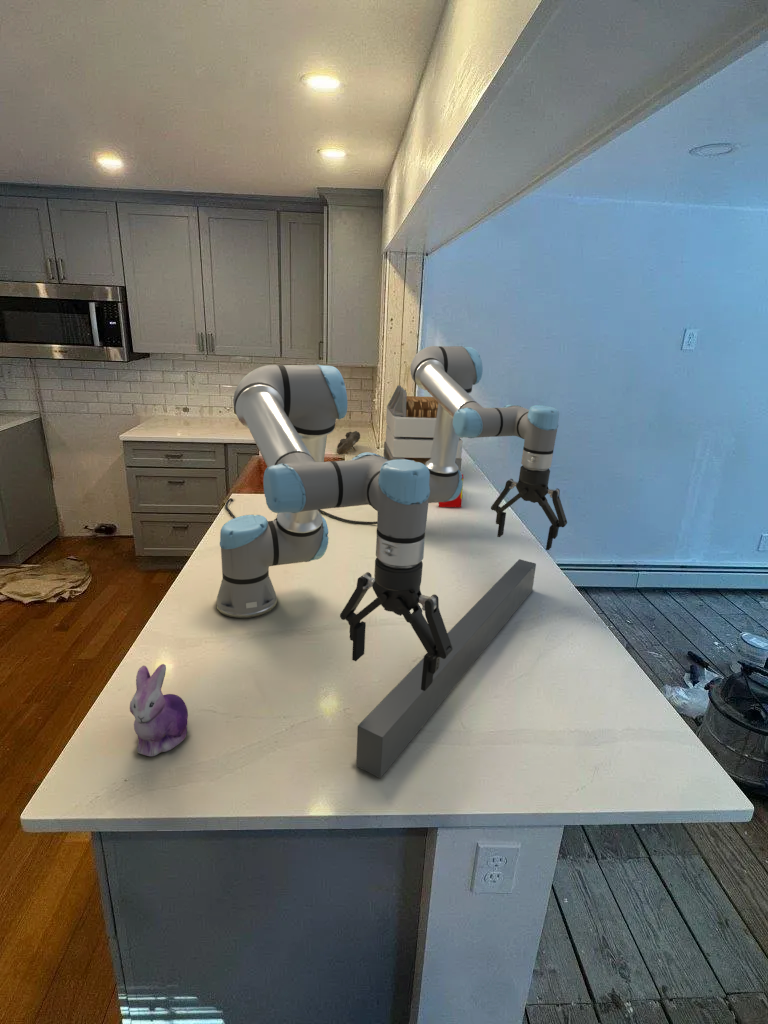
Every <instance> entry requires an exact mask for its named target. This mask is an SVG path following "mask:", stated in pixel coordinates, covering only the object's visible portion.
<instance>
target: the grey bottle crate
mask: <svg viewBox="0 0 768 1024" xmlns="http://www.w3.org/2000/svg"><path fill="white" fill-rule="evenodd" d="M407 394H408V393H407V390H406V389H404V388H403V387H402V385H399V384H398V385H397V386H396V388H395V390H394V392H393V394H392V395H391V398H390V400H389V402H388V404H387V405H386V413H385V414H386V415H385V423H386V428H385V438H384V442H383V457H384V458H385V459H387V460H389V461H390V460H395V459H406V460H413V461H415V462H420V463H422V464H424V465H425V463H426V462H427V461H428V460H430V459H431V452H432V445H433V438H434V431H435V424H436V417H437V410H438V402H437V401H436V399H435V398H434V397H433V396H415V395H414V396H413V395H412V396H411V395H407ZM462 439H463V438H462V437H459V441H458V447H457V453H456V459H455V463H456V465H457V466H458V470H459V471H460V472H461V473H462V461H463V460H462V453H463V442H464V441H463V440H462Z"/></svg>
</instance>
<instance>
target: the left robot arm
mask: <svg viewBox="0 0 768 1024" xmlns="http://www.w3.org/2000/svg"><path fill="white" fill-rule="evenodd" d="M341 373H342V372H340V370H339V369H338V368H337V367H335V366H333V365H325V364H324V365H321V364H319V363H316V364H285V365H284V364H268V365H262V366H260V367H257V368H254V369H253V370H252V371H250V372H249V373H246V375H245V376H243V378H242V379H241V380H240V381H239V382H238V384H237V386H236V388H235V390H234V393H233V400H232V401H233V402H232V403H233V410H234V413H235V415H236V417H237V419H238V421H239V423H241V424H242V425H243V426H244V427H245V428H246V429H248V430H249V432H250V434H251V436H252V438H253V440H254V442H255V444H256V446H257V447H256V448H257V449H258V451H259V453H260V455H261V457H262V459H263V461H264V463H265V466H266V468H265V470H264V472H263V481H262V482H263V494H264V498H265V504H266V505H267V508H268V509H269V511H271V512H272V513H275V514H276V518H277V520H274V519H273V520H268V519H267V517H265V516H264V515H261V514H256V515H255V514H245V515H241V516H235V514H233V512H232V511H231V510H230V508H229V507H228V504H229V503H230V502H233V501H234V499H233V498H228V499H227V500H226V502H225V504H224V507H225V510H226V511H227V512H228V514H230V516H231V517H232V519H230V520H227V522H225V523H224V524H223V525H222V527H220V532H219V534H220V535H219V547H220V555H221V556H220V558H221V575H222V578H221V579H222V580H221V583H220V586H219V589H218V593H217V597H216V608H217V610H218V612H219V613H220V614H222V615H224V616H226V617H230V618H233V619H234V618H236V619H250V618H256V617H260V616H263V615H265V614H267V613H270V612H271V611H272V610H274V608H275V607H276V605H277V600H278V599H277V592H276V590H275V588H274V585H273V583H272V579H271V578H270V572H269V571H270V570H269V569H270V568H269V567H275V566H282V565H290V564H291V565H292V564H298V563H299V564H300V563H309V562H311V561H316V560H319V559H321V558H322V557H323V556H324V555H325V553H326V552H327V549H328V545H329V527H328V523H327V521H326V519H325V518H324V517H323V515H322V513H321V512H319V511H318V510H319V509H320V510H328V509H339V508H348V507H357V506H367V505H369V506H370V507H372V508H373V509H374V511H377V520H376V521H377V524H376V539H375V540H376V543H375V556H376V558H375V560H374V575H373V576H374V577H372V574H371V572H369V571H367V572H365V573H363V574H362V575H360V576H359V577H357V582H356V587H355V589H354V591H353V593H352V594H351V596H350V597H349V599H348V601H347V602H346V604H345V606H344V607H343V609H342V611H340V612H341V613H340V614H339V617H340V619H341V620H343V621H345V620H346V621H347V623H348V625H349V640H350V641H352V653H351V655H352V656H351V660H352V661H353V662H357V661H358V660H359V659H360V658H361V657H363V656H364V655H365V648H366V647H365V646H366V645H365V644H366V624H367V622H365V621H363V619H364V618H366V617H367V616H369V614H371V613H372V612H373V611H375V610H376V609H377V608H378V607H380V606H381V607H382V608H383V609H384V611H387V612H392V613H394V614H395V615H397V616H399V617H400V616H403V618H404V620H405V621H406V622H407V623H409V624H410V626H411V628H412V629H413V631H414V633H415V635H416V636H417V638H418V640H419V641H420V643H421V644H422V646H423V648H424V650H425V651H426V653H425V654H424V655H423V658H424V661H423V672H422V683H421V690H423V691H425V690H426V689H427V688H428V687H429V686H430V685H431V684H432V682H433V674H434V673H435V672H436V671H437V670H438V668H439V662H440V657H441V658H442V659H445V658H446V657H447V656H448V655H449V654H450V653H451V651H452V650H453V648H452V645H451V642H450V639H449V636H448V631H447V628H446V625H445V622H444V620H443V616H442V614H441V611H440V607H439V605H440V603H439V601H440V599H439V595H437V594H435V593H434V594H432V595H430V596H429V595H425V594H422V592H421V584H422V579H423V578H422V577H423V565H424V564H423V563H424V562H423V560H424V555H425V541H426V540H425V539H426V538H425V537H426V530H427V520H428V512H429V511H428V509H429V503H428V502H429V495H430V486H429V478H430V472H429V469H428V468H427V466H426V465H424V464H422V463H420V462H415V461H413V460H406V459H395V460H390V461H389V460H387V459H385V458H384V456H382V455H380V454H377V453H374V452H369V451H365V452H361V453H359V454H357V455H355V456H354V457H352V458H351V459H347V460H330V461H325V456H326V446H327V440H328V435H330V434H331V433H333V432H334V431H335V429H336V422H337V420H342V419H344V418H345V417H346V415H347V413H348V393H347V388H346V384H345V380H344V378H343V375H342V374H341ZM370 589H372V590H373V592H374V594H375V596H376V598H375V599H374V600H373V601H371V602H370V603H369V604H367V605H366V606H365V607H364V608H363V609H361V610H360V611H359V612H357V613H355V611H356V610H357V608H358V606H359V605H360V603H361V601H362V600H363V599H364V596H365V595H366V594H367V592H368V591H369V590H370ZM420 604H421V606H420ZM411 610H412V611H413V612H411ZM423 611H424V614H423ZM424 615H425V616H424Z"/></svg>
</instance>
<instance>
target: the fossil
mask: <svg viewBox="0 0 768 1024" xmlns="http://www.w3.org/2000/svg"><path fill="white" fill-rule="evenodd" d="M360 439H361V434H360V432H359V431H357V430H355V431H348V432H346V434H345V438H341V439H340V440H339V442H338V444H337V446H336V453H337V454H343V453H347V452H348V451H349V450H350V449H351V448H353V450H354V451H356V448H355V445H356V444H357V443H358V442H359V441H360Z"/></svg>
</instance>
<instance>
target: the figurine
mask: <svg viewBox="0 0 768 1024" xmlns="http://www.w3.org/2000/svg"><path fill="white" fill-rule="evenodd" d="M166 672H167V665H166V664H164V663H161V664H160V665H159V666H157V668H156V669H155V670H154V671H153V673H152V674H151V673H150V671H149V668H148V667H147V666H146V665H141V666H140V667H139V668H138V670H137V672H136V679H135V686H136V688H135V689H136V690H135V693H134V695H133V696H132V699H131V700H130V704H129V711H130V714H131V715H132V716H133V717H134V722H133V730H134V732H135V734H136V736H137V738H138V739H137V740H138V743H137V747H136V750H137V753H138V754H140V755H144V756H147V757H156V756H157V755H159V754H160V753H167V752H170V751H171V750H173V749H174V748H175V747H177V746H178V745H180V744H181V743H182V742H183V741H184V740H185V739H186V738H187V734H188V722H189V721H188V718H189V711H188V707H187V704H186V702H185V701H184V700H183V698H182V697H181V696H179V695H178V694H174V693H166V694H163V692H162V687H163V684H164V680H165V677H166Z"/></svg>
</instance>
